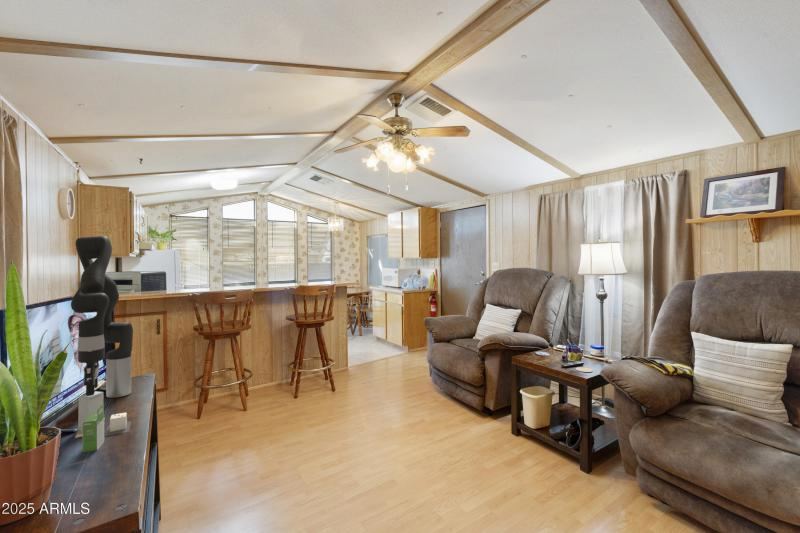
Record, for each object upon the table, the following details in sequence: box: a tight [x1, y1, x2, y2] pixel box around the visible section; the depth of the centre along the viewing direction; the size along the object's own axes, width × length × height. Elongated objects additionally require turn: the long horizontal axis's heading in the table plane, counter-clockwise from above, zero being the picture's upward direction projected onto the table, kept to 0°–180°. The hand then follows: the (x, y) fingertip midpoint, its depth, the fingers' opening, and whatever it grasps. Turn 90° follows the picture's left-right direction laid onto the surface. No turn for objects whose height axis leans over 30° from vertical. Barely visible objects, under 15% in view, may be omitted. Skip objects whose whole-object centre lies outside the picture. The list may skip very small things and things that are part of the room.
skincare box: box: [77, 390, 105, 430], centre depth 135 cm, size 6×4×12 cm
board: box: [73, 417, 107, 440], centre depth 135 cm, size 15×7×1 cm, turn 33°
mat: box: [104, 420, 132, 437], centre depth 135 cm, size 10×7×1 cm
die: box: [109, 412, 128, 432], centre depth 136 cm, size 4×4×5 cm
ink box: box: [82, 402, 105, 453], centre depth 122 cm, size 7×4×13 cm, turn 23°
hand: (92, 391), depth 135 cm, fingers open, 8 cm apart
